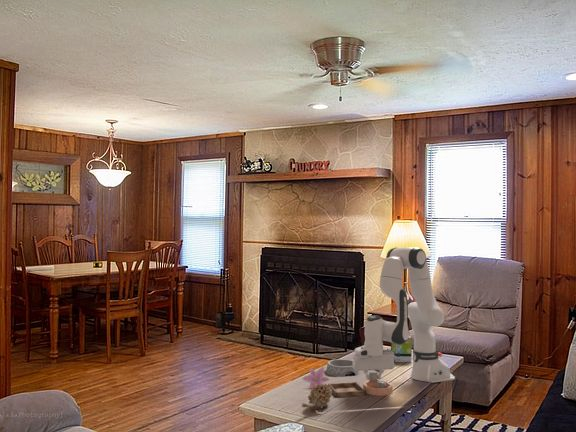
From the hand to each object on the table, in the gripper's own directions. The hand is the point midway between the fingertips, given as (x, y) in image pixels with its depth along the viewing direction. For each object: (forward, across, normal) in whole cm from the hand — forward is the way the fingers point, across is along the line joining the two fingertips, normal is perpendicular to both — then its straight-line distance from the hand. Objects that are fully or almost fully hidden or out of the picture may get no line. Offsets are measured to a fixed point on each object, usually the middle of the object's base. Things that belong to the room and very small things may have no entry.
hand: (373, 378), depth 251 cm
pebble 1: (+1, 0, 0) cm, 1 cm away
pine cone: (+7, +33, +17) cm, 38 cm away
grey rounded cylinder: (+6, -4, 0) cm, 7 cm away
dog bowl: (+7, +4, -36) cm, 37 cm away
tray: (+7, +13, -2) cm, 14 cm away
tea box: (+6, -38, -55) cm, 67 cm away
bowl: (+7, -2, 0) cm, 7 cm away
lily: (+7, +25, -11) cm, 29 cm away
